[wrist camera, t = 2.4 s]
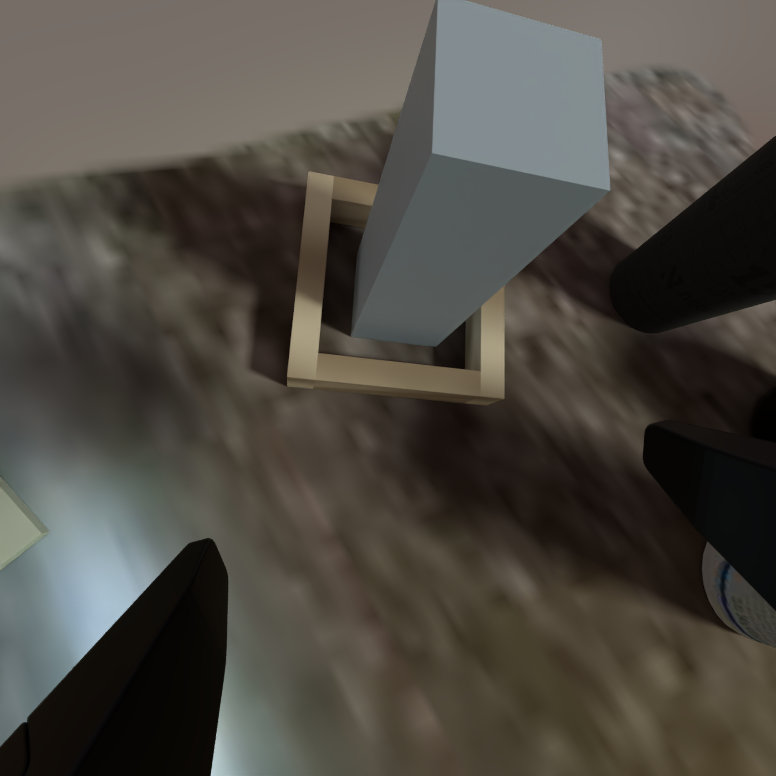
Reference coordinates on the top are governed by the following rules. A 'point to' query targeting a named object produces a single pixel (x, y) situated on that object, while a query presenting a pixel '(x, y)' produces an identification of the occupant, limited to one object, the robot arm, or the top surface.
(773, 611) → the spray can
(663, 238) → the drinking cup
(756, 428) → the supplement bottle
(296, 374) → the pocket
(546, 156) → the post
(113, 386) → the top surface
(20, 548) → the mat
